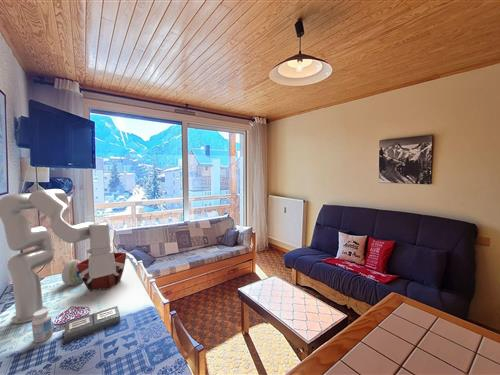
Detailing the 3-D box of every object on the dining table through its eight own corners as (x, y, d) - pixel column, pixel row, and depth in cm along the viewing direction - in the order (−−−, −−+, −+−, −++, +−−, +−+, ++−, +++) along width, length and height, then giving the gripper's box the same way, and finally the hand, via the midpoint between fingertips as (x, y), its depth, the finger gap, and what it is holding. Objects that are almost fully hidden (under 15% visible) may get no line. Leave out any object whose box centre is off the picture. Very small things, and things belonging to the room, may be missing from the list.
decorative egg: (76, 287, 141) (74, 263, 140) (57, 287, 142) (55, 263, 141) (91, 278, 153) (89, 256, 152) (73, 278, 154) (71, 256, 153)
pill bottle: (51, 330, 102) (48, 306, 101) (54, 336, 98) (51, 311, 97) (32, 338, 97) (29, 313, 96) (35, 345, 93) (32, 318, 92)
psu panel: (64, 341, 94) (64, 333, 94) (66, 329, 102) (65, 321, 102) (120, 321, 106) (120, 314, 106) (117, 311, 114) (117, 305, 114)
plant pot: (100, 277, 153) (98, 252, 152) (128, 277, 153) (126, 252, 151) (78, 292, 134) (75, 264, 133) (110, 292, 134) (107, 264, 132)
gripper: (77, 257, 97) (80, 296, 98) (123, 248, 107) (126, 283, 108) (77, 252, 103) (80, 289, 104) (121, 244, 113) (123, 278, 114)
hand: (103, 286), depth 106 cm, fingers open, 9 cm apart
